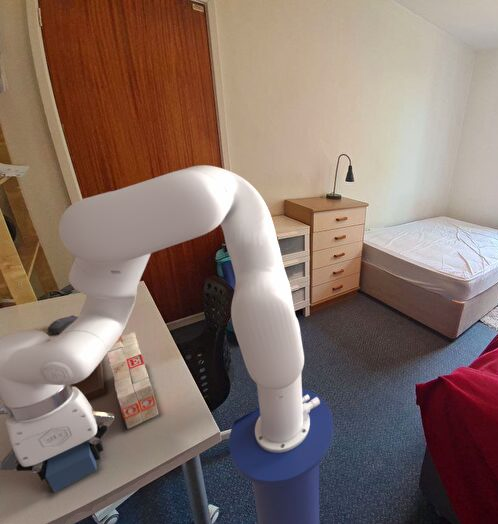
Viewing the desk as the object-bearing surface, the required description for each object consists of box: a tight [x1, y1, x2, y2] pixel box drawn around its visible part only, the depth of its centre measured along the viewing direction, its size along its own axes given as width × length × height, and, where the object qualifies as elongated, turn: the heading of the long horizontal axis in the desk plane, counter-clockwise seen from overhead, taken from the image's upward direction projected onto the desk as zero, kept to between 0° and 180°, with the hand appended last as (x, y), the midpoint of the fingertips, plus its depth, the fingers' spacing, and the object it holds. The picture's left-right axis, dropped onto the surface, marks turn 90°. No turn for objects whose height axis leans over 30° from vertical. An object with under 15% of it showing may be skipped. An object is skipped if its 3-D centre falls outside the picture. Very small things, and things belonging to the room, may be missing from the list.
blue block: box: [45, 441, 98, 493], centre depth 55 cm, size 6×7×4 cm
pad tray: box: [71, 360, 106, 401], centre depth 75 cm, size 11×18×2 cm, turn 42°
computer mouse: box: [46, 315, 78, 335], centre depth 96 cm, size 6×9×4 cm, turn 174°
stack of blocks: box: [106, 331, 159, 430], centre depth 70 cm, size 21×6×12 cm, turn 42°
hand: (75, 464), depth 56 cm, fingers closed on blue block, 6 cm apart
